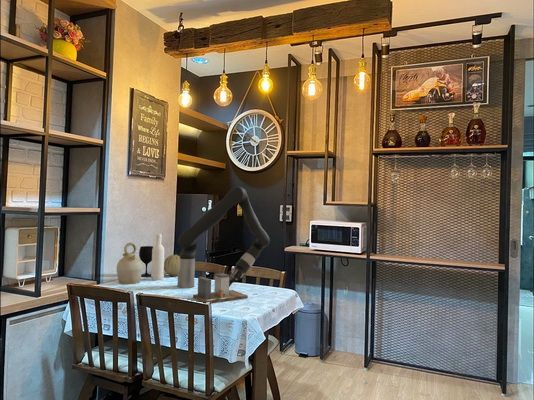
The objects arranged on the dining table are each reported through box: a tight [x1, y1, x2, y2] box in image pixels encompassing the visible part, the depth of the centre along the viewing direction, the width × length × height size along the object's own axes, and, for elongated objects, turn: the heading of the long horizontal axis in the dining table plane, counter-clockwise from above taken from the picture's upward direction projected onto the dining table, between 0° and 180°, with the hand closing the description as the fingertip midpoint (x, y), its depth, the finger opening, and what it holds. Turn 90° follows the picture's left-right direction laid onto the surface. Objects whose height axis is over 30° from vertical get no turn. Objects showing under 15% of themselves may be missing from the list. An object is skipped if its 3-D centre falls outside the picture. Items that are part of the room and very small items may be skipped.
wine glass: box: [138, 245, 154, 278], centre depth 274 cm, size 10×10×20 cm
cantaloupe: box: [164, 253, 180, 277], centre depth 277 cm, size 15×15×15 cm
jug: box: [116, 242, 144, 285], centre depth 250 cm, size 15×16×25 cm
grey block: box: [213, 272, 230, 296], centre depth 216 cm, size 5×10×11 cm, turn 37°
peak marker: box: [219, 289, 223, 297], centre depth 211 cm, size 1×2×4 cm, turn 37°
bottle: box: [150, 233, 165, 281], centre depth 263 cm, size 8×8×30 cm
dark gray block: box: [197, 276, 212, 299], centre depth 210 cm, size 3×9×10 cm, turn 37°
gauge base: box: [192, 289, 249, 304], centre depth 216 cm, size 25×16×2 cm, turn 127°
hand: (226, 286), depth 219 cm, fingers closed
